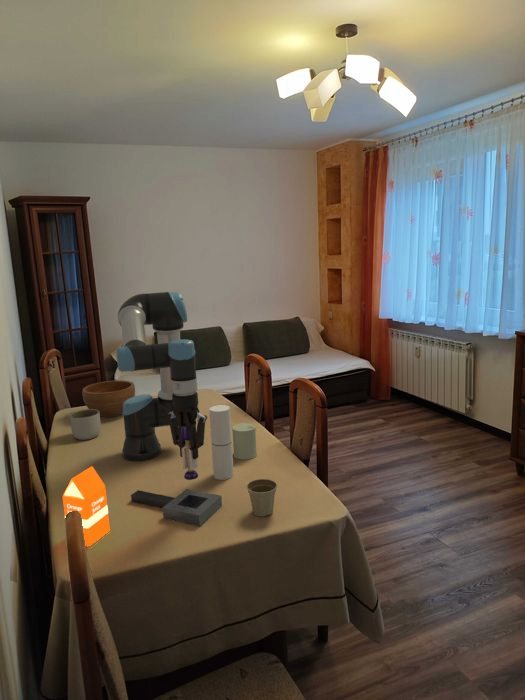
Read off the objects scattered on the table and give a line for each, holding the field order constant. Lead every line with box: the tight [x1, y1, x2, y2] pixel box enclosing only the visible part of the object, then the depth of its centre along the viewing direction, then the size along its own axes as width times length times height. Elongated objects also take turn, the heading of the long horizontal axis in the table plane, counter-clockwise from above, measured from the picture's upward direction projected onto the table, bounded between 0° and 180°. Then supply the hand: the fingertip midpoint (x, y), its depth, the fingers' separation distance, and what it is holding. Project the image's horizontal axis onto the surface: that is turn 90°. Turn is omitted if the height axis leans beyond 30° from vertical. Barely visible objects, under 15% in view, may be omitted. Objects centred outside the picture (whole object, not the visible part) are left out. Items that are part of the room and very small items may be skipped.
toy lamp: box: [180, 424, 199, 481], centre depth 151 cm, size 5×5×17 cm
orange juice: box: [62, 465, 111, 547], centre depth 141 cm, size 8×9×20 cm
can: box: [231, 422, 258, 461], centre depth 196 cm, size 9×9×12 cm
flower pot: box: [245, 478, 278, 517], centre depth 153 cm, size 9×9×9 cm
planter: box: [69, 408, 102, 441], centre depth 223 cm, size 12×12×11 cm
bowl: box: [81, 380, 136, 418], centre depth 251 cm, size 25×25×15 cm
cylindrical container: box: [208, 404, 235, 481], centre depth 177 cm, size 7×7×25 cm
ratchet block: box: [130, 488, 223, 527], centre depth 158 cm, size 29×13×4 cm, turn 65°
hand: (190, 467), depth 152 cm, fingers closed on toy lamp, 2 cm apart
